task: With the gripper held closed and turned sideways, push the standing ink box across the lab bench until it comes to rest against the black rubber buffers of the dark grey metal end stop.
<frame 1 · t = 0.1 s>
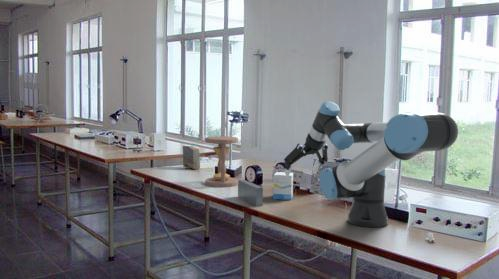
hand: (300, 173, 200), 15 cm above the table, tool tilted 35°, fingers open, 13 cm apart
power adapter: (430, 244, 158), on the table
hourglass: (221, 184, 252), on the table
ink box: (283, 198, 221), on the table
end stop: (249, 200, 214), on the table
geological specimen: (191, 169, 299), on the table
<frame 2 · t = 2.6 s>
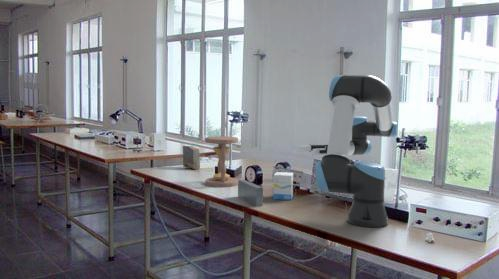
hand: (306, 150, 224), 22 cm above the table, tool horizontal, fingers open, 11 cm apart
nothing on the table moved.
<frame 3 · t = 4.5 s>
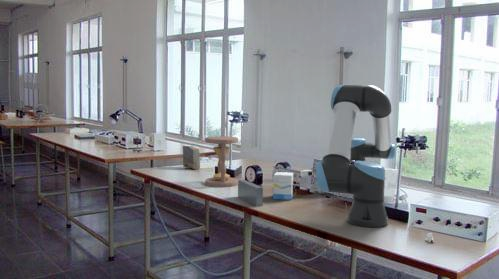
hand: (301, 173, 225), 11 cm above the table, tool horizontal, fingers closed
nothing on the table moved.
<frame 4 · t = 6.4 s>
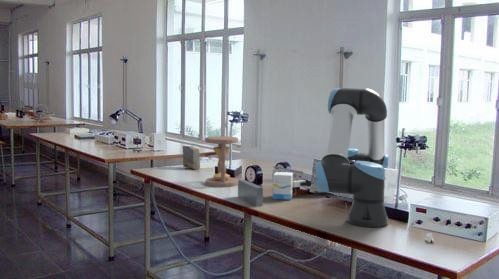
hand: (293, 184, 224), 6 cm above the table, tool horizontal, fingers closed
ink box: (282, 198, 221), on the table, touching gripper
everything else where it was.
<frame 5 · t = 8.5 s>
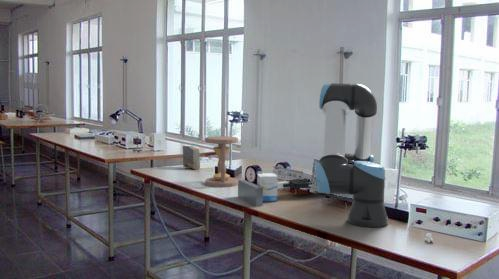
hand: (276, 185, 220), 6 cm above the table, tool horizontal, fingers closed
ink box: (266, 199, 217), on the table, touching end stop, gripper
everything else where it was.
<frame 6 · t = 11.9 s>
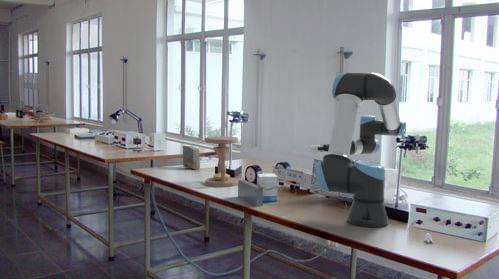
hand: (310, 148, 221), 23 cm above the table, tool horizontal, fingers closed
ink box: (266, 199, 217), on the table
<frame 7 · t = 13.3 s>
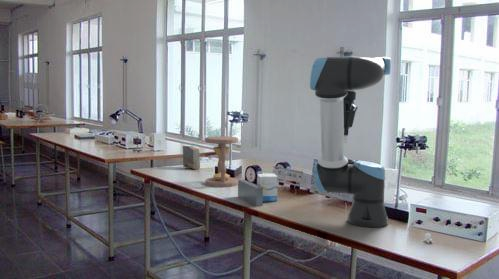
hand: (343, 142, 213), 27 cm above the table, tool pointing down, fingers closed
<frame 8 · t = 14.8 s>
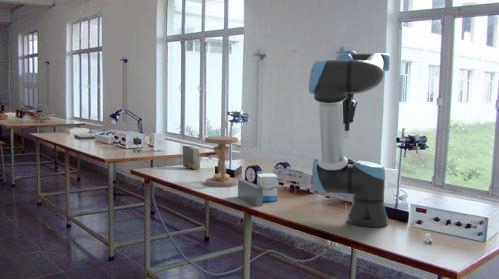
hand: (345, 137, 212), 29 cm above the table, tool pointing down, fingers closed
at the end: ink box inside the target area (0.3 cm from its centre), on the table; ink box tilted 0°; the gripper is holding nothing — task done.
